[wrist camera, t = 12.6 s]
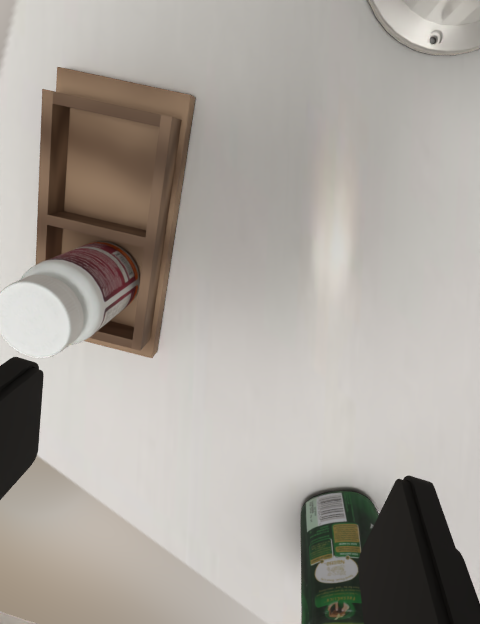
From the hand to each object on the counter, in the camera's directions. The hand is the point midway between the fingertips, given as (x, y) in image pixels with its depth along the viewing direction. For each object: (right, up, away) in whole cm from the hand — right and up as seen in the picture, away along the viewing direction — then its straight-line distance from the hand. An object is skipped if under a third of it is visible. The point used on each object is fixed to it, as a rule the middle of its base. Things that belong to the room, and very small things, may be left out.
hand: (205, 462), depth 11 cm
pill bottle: (-11, +7, +27) cm, 30 cm away
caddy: (-10, +11, +27) cm, 30 cm away
